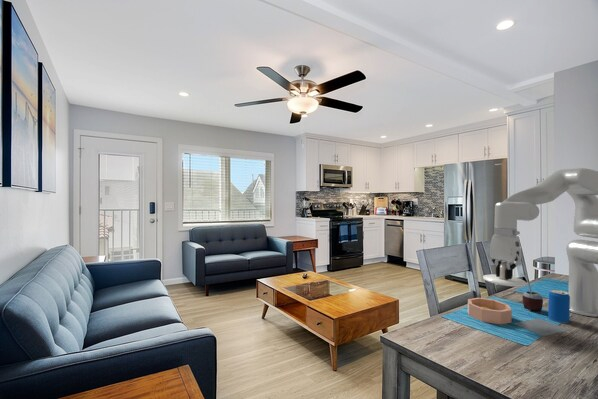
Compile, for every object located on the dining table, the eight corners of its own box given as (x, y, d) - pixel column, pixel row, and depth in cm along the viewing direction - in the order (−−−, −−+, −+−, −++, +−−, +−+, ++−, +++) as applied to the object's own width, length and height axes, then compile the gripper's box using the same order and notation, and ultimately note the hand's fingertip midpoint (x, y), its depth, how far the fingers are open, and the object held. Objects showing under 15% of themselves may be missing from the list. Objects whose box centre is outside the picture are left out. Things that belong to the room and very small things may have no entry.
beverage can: (573, 325, 117) (574, 295, 117) (554, 323, 119) (555, 293, 118) (562, 318, 124) (563, 289, 124) (544, 317, 125) (545, 288, 125)
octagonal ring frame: (484, 308, 134) (485, 296, 134) (518, 322, 120) (519, 308, 120) (460, 312, 129) (460, 300, 129) (492, 327, 115) (492, 313, 115)
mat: (538, 319, 122) (538, 318, 122) (570, 331, 112) (570, 329, 112) (513, 324, 117) (513, 323, 117) (544, 337, 107) (544, 336, 107)
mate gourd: (540, 315, 126) (541, 280, 126) (518, 310, 132) (518, 276, 132) (544, 311, 131) (545, 277, 131) (522, 306, 137) (523, 273, 137)
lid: (498, 275, 130) (498, 259, 130) (534, 284, 117) (535, 267, 117) (475, 277, 125) (475, 261, 125) (510, 288, 112) (510, 270, 111)
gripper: (533, 235, 114) (531, 282, 115) (492, 230, 130) (490, 272, 130) (520, 235, 112) (519, 284, 112) (479, 230, 127) (478, 273, 127)
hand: (503, 277), depth 121 cm, fingers closed on lid, 3 cm apart
